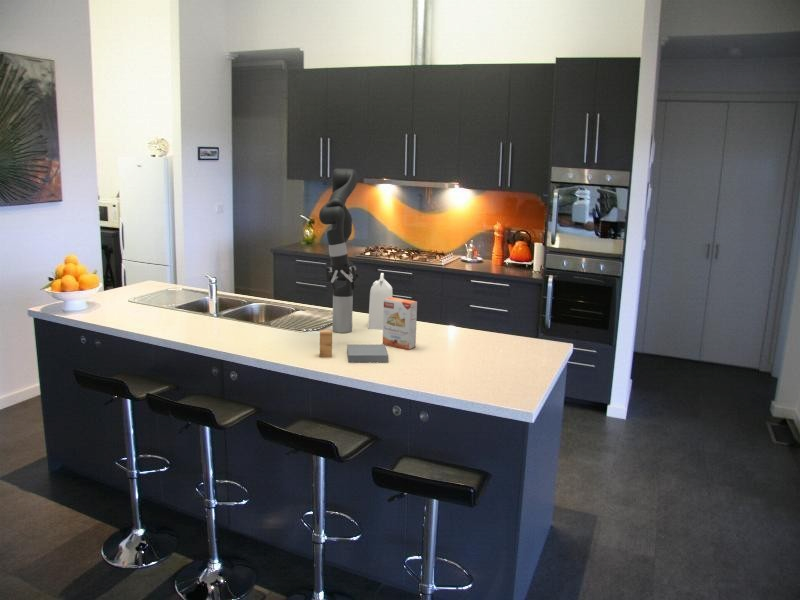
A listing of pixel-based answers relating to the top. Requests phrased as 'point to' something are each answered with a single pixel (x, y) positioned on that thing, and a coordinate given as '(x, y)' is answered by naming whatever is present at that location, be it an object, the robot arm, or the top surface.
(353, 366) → the top surface
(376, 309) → the milk
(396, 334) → the cracker box
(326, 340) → the orange block
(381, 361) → the grey plinth
